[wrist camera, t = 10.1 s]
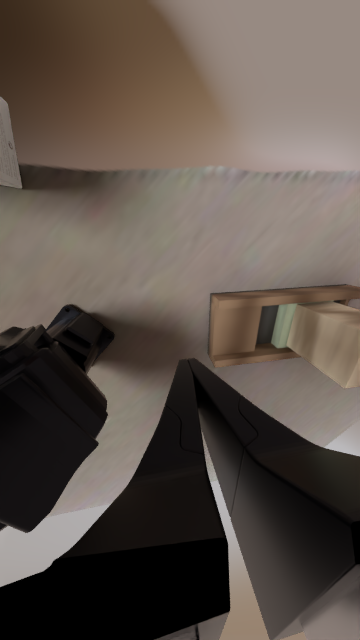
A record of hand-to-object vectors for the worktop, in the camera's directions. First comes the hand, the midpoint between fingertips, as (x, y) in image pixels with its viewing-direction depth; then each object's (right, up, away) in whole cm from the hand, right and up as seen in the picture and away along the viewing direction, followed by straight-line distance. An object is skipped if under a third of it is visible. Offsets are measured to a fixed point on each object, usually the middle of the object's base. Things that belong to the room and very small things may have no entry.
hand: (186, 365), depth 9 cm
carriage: (+17, +2, +14) cm, 22 cm away
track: (+13, +3, +15) cm, 20 cm away
